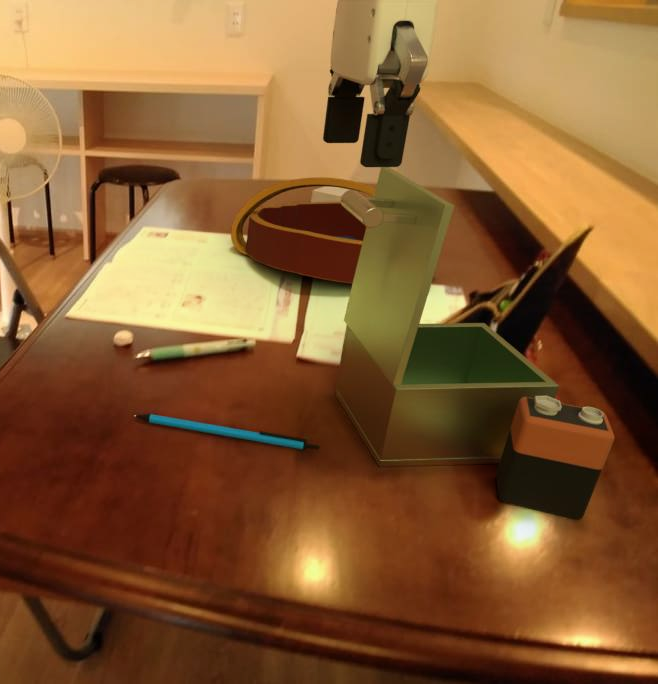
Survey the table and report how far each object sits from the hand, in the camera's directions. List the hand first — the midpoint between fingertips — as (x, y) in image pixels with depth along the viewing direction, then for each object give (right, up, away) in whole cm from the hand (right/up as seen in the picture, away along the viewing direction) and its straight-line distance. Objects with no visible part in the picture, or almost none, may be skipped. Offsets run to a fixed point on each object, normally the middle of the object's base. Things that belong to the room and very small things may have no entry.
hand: (358, 153), depth 59 cm
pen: (-10, -26, +11) cm, 30 cm away
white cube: (+19, +9, +81) cm, 83 cm away
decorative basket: (+12, -4, +56) cm, 57 cm away
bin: (+12, -25, +14) cm, 31 cm away
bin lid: (+5, -10, +5) cm, 12 cm away
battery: (+17, -31, +4) cm, 35 cm away
